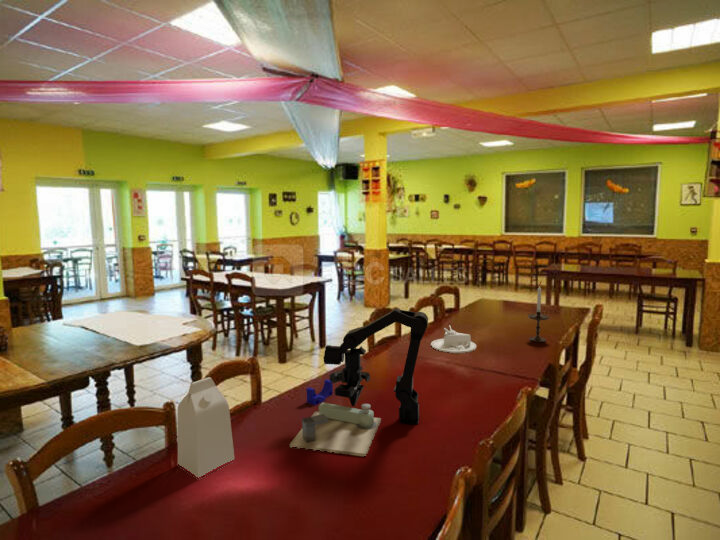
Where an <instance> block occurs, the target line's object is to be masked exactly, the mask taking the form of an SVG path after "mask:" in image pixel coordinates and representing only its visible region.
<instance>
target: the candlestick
mask: <svg viewBox="0 0 720 540" xmlns="http://www.w3.org/2000/svg"><path fill="white" fill-rule="evenodd" d="M541 284H542V281H539V284H538V288H537V300H536V301H537V304H536V310H535V311H534V312H535V313H531V314H528V319H531V320H535V321H536V326H535V330H536V331H535V333H536V336H531V337H528V338H529V339H528V340H529V341H530V342H532V341H534V342H533V343H537V342H543V343H546V342H547V339H546V338H544V337H541V336H540V333H541V331H540V330H541V326H540V321H546V320H549V318H550V317H549V315H547V314H542V313H543V311H542V310H541V306H542V305H541V304H542V288H541ZM545 341H546V342H545Z"/></svg>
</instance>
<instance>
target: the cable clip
mask: <svg viewBox="0 0 720 540" xmlns="http://www.w3.org/2000/svg"><path fill="white" fill-rule="evenodd" d="M333 385H334V383H333V382H331V381H330V380H329V378H327V379H325V380H324V384H323V387H322V389H321V391H320V392H319V393H316V389H315V388H313V387H309V386H308V387H307V388H306V403H307V404H310V405H313V406H317V405H320V404H321V403H324V402H325V401H326V400H327V398H328V397H330V396H333Z"/></svg>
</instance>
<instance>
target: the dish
mask: <svg viewBox="0 0 720 540" xmlns="http://www.w3.org/2000/svg"><path fill="white" fill-rule="evenodd" d="M448 326H449V329H450V330H448V329H447V328H446V327H444V328H443V330H444V331H445V333H444V336H443V338H438V339H434V340H433V341H431V343H430V347H431V346H432V347H431V349H433V348H434V350H435V349H436V351H438V350H439V352H442V351H443V353H447V352H449V353H448V354H465V353H466V352H467V353H472V352H473V350H474V351H475V350H476V349H477V344H476V343H475V342H473V341H472V340H471V334H468V333H461V332H457V331H456V330H454V329H452V327H451V325H450V324H449V325H448Z"/></svg>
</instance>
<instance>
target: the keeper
mask: <svg viewBox="0 0 720 540" xmlns="http://www.w3.org/2000/svg"><path fill="white" fill-rule="evenodd" d="M311 416H312V415H311ZM311 416H307V417H302V418H301V426H302V427H301V429H303V438H304V440H305V441H306V443H308V442H312V441H316V440H315V425H318V424H323V423H327V422H328V418H327V417H326V416H325V415H324V414H321V415H316V416H312V417H311Z"/></svg>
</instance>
